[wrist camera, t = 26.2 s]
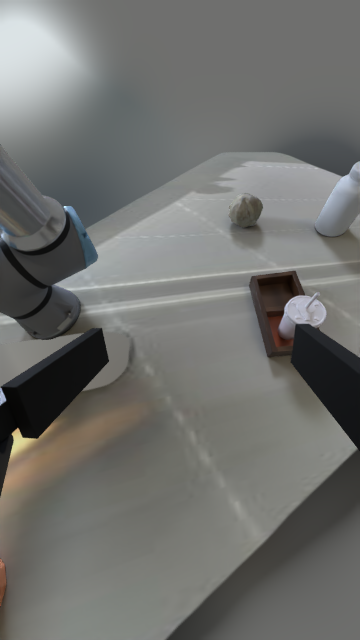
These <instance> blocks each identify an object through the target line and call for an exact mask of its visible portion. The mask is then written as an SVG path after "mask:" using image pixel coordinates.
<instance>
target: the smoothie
mask: <svg viewBox="0 0 360 640" xmlns="http://www.w3.org/2000/svg"><path fill="white" fill-rule="evenodd" d="M319 295H320V293H319V292H316V294H315V295H314V296H313V297H310V296H296V297H294V298H292V299H291V300H289V302H288V303H287V304H286V306H285V310H284V312H285V313H284V315H283V318H282V320H281V323H280V325H279V327H278V334H279V336H280V337H281V338H283V339H285V340H291V339H293V338H294V333H295V325H296V324H310V325H312V326H313V327H315V328H317V327H319V326H320V325H321V324H322V323H323V322H324V321H325V319H326V316H327V313H326V309H325V307H324V306H323V304H322V303H321V302H320V301H318V300H317V299H316V298H317V297H318V296H319Z"/></svg>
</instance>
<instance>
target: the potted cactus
mask: <svg viewBox="0 0 360 640" xmlns="http://www.w3.org/2000/svg"><path fill="white" fill-rule="evenodd" d="M5 587H6V572H5V564H4V563H3V562H2V560H1V559H0V607H1V603H2V599H3V595H4V591H5Z"/></svg>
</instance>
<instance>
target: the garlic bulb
mask: <svg viewBox="0 0 360 640" xmlns="http://www.w3.org/2000/svg"><path fill="white" fill-rule="evenodd" d="M229 209H230V211H229V217H230V218H231V221H232V222H234V223H235V224H237V225H239V226H241V227H242V228H244V227H247V226H253V225H255V224H256V220H257V219H258V218H259V216H260V214H261V211H262V209H263V205H262V203H261V201H260V200H259V198H257V197H254V196H253V195H251V194H248V193H244V194H241V195H239V196H237V197H236V198H235V199H234V201H233V202H232V204H231V206H229Z"/></svg>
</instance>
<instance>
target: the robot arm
mask: <svg viewBox="0 0 360 640" xmlns="http://www.w3.org/2000/svg"><path fill="white" fill-rule="evenodd" d="M0 233H1V236H2V238H1V239H0V312H1V313H3V314H5V315H7V316H10V317H12V318H14V319H15V320H16V321H17V322H18V323H19V324H20V325H21V326H22V327H23V328H24V329H25V330H26V331H27V332H28V333H29V334H30V335H32V336H34V337H36V338H38V339H42V340H49V339H53V338H56V337H58V336H60V335H62V334H64V333H65V332H66V331H68V330H69V329H70V328H71V327H72V326H73V324H74V323H75V322H76V320H77V318H78V316H79V313H80V301H79V299H78V298H77V297H76V296H75V295H74V294H73V293H72V292H70V291H68V290H66V289H64V288H61V287H58V286H56V285H53V284H55V283H57V282H59V281H61V280H63V279H65V278H67V277H69V276H71V275H73V274H75V273H77V272H79V271H81V270H83V269H86V268H87V267H88V266H90V265H91V264H93V263H94V262H96V261H97V259H98V254H97V252H96V250H95V248H94V246H93V244H92V242H91V240H90V238H89V236H88V235H87V232H86V231H85V228H84V227H83V225H82V223H81V221H80V219H79V217H78V216H77V214H76V212H75V210H74V209H73V208H72V207H71V206H68V207H66V206H65V207H62V206H61V205H60V204H59V203H58V202H57V201H56V200H54V199H53V198H50V197H47V196H42V195H41V193H40V192H39V191H38V190H37V189H36V187H35V186H34V185H33V184H32V182H31V181H30V180H29V179H28V178H27V176H26V175H25V174H24V173H23V171H21V169H20V168H19V167H18V165H17V164H16V163H15V162H14V161H13V159H12V158H11V157H10V156H9V155H8V153H7V152H6V151H5V150H4V148H3V147H2V146H1V145H0ZM108 362H109V359H108V354H107V350H106V345H105V341H104V336H103V331H102V328H92V329H91V330H89V331H87V332H86V333H84V334H83V335H81V336H80V337H78V338H76V339H75V340H73V341H72V342H70V343H69V344H67V345H66V346H64V347H62V348H61V349H59V350H58V351H56V352H54V353H53V354H51V355H50V356H48V357H47V358H45V359H43V360H42V361H40V362H39V363H37V364H36V365H34V366H32V367H31V368H29V369H28V370H27V371H25V372H23V373H21V374H20V375H18V376H17V377H15V378H14V379H12V380H10V381H9V382H8V383H6V384H4V385H3V386H1V388H0V496H1V492H2V488H3V483H4V479H5V475H6V471H7V467H8V462H9V458H10V454H11V450H12V445H13V441H14V440H13V436H12V434H11V433H12V432H13V431H15V430H16V429H17V428H19V430H20V432H21V435H22V437H23V438H35V439H38V438H39V436H40V435H41V434H42V433H43V432H44V431H45V430H46V429H47V428H48V427H49V426H50V425H51V423H52V422H53V421H54V420H55V419H56V418H57V417H58V416H59V415H60V414H61V413H62V412H63V411H64V409H65V408H66V407H67V406H68V405H69V404H70V403H71V402H72V401H73V400H74V399H75V398H76V396H77V395H78V394H79V393H80V392H81V391H82V390H83V389H84V388H85V387H86V386H87V385H88V384H89V382H90V381H91V380H92V379H93V378H94V377H95V376H96V375H97V374H98V373H99V372H100V371H101V369H102V368H103V367H104V366H105V365H106V364H107V363H108ZM291 363H292V365H293V366H294V367H295V368H296V370H297V371H298V372H299V374H300V375H301V376H302V377H303V379H304V380H305V381H306V383H307V384H308V385H309V386H310V388H311V389H312V390H313V392H314V393H315V394H316V395H317V397H318V398H319V399H320V401H321V402H322V403H323V404H324V406H325V407H326V408H327V410H328V411H329V412H330V413H331V415H332V416H333V417H334V419H335V420H336V421H337V422H338V424H339V425H340V426H341V428H342V429H343V430H344V431H345V433H346V434H347V435H348V437H349V438H350V439H351V440H352V442H353V443H354V444H355V446H356V447H357V448H358V449H359V451H360V358H359V357H358V356H356V355H355V354H353V353H352V352H350V351H349V350H347V349H346V348H344V347H343V346H341V345H340V344H339V343H337V342H336V341H334V340H333V339H331V338H330V337H328V336H327V335H325V334H324V333H322V332H321V331H319V330H318V329H316V328H315V327H313V326H312V325H310V324H296V325H295V333H294V341H293V349H292V357H291Z"/></svg>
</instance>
